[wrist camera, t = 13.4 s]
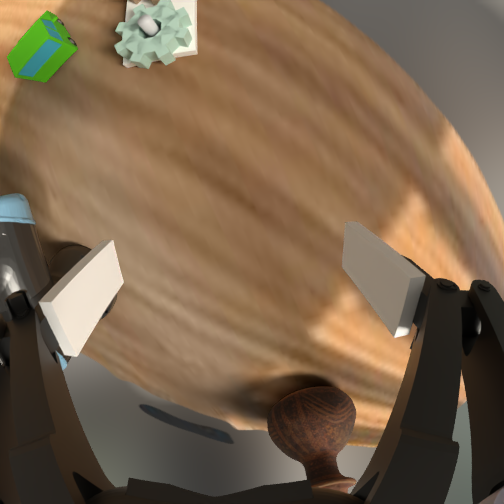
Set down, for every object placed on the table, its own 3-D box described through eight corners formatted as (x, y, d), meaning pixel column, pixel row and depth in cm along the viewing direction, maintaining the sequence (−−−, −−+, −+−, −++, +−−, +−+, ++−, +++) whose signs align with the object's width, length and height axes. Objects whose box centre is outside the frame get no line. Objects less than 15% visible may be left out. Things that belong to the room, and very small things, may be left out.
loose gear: (124, 74, 29) (113, 69, 26) (126, 20, 25) (117, 10, 22) (192, 61, 30) (188, 52, 26) (192, 5, 26) (188, -6, 22)
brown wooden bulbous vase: (254, 420, 63) (263, 517, 35) (280, 371, 55) (303, 496, 27) (324, 421, 66) (348, 506, 39) (360, 375, 58) (403, 474, 31)
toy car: (63, 11, 23) (36, -4, 14) (86, 46, 28) (55, 30, 18) (27, 49, 24) (-4, 41, 15) (46, 87, 29) (11, 82, 20)
